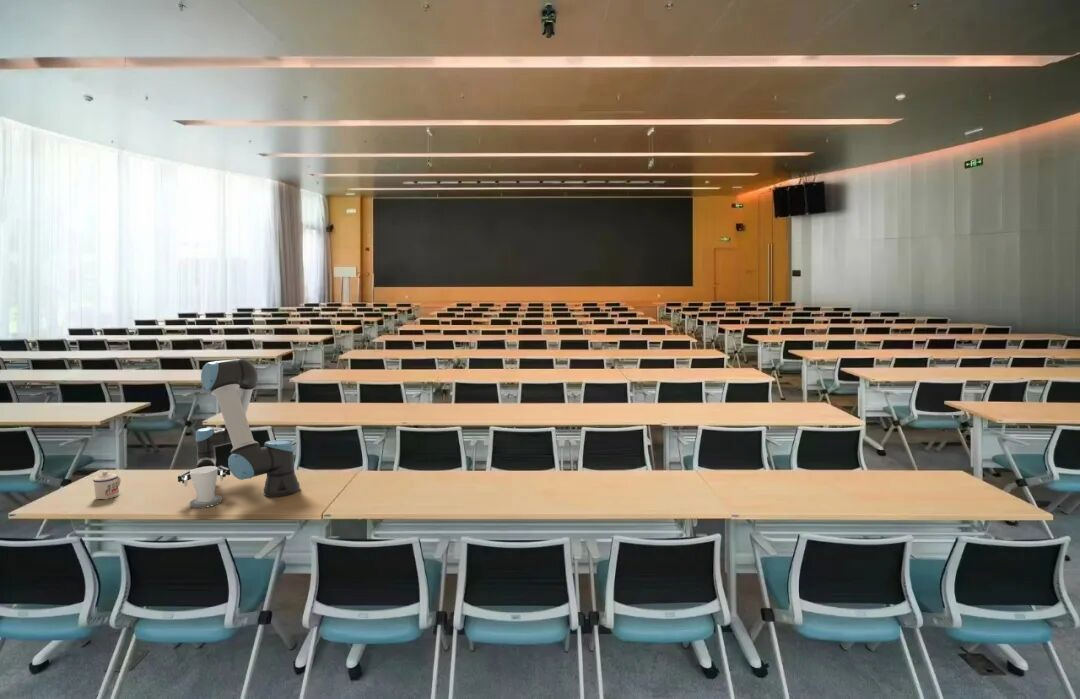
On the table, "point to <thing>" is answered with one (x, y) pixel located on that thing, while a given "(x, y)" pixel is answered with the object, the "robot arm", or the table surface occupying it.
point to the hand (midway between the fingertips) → (203, 480)
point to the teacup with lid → (106, 485)
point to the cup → (204, 482)
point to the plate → (197, 504)
